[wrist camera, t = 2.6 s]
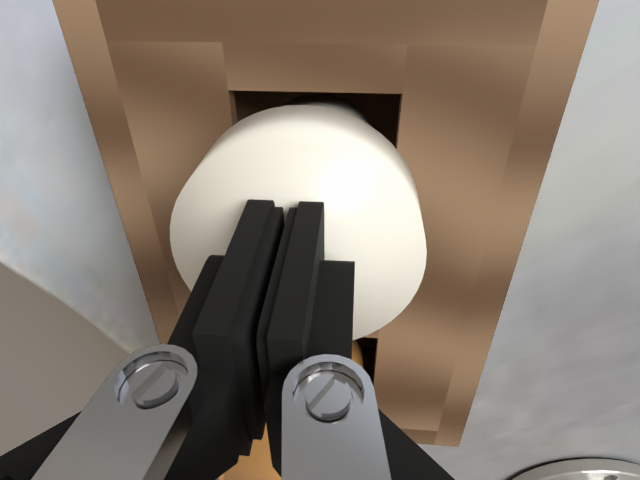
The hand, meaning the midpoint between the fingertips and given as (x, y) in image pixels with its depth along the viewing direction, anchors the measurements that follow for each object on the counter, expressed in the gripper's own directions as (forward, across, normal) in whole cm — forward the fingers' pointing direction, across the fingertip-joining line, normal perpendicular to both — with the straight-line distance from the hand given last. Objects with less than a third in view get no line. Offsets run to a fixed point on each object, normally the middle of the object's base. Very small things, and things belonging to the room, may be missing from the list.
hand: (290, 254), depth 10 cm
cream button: (+6, 0, 0) cm, 6 cm away
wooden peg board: (+11, 0, +5) cm, 12 cm away
